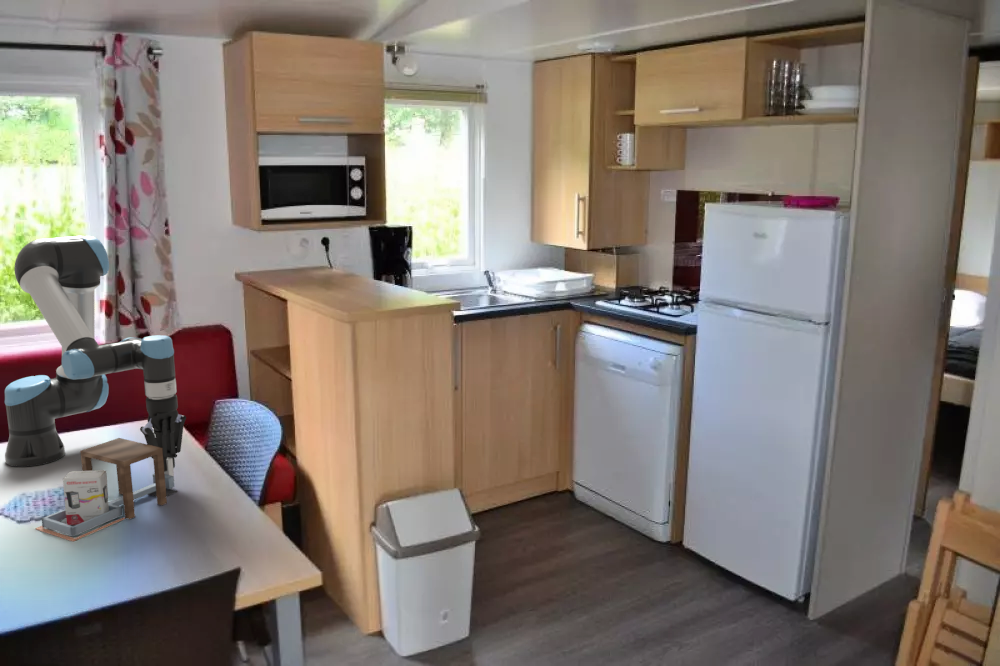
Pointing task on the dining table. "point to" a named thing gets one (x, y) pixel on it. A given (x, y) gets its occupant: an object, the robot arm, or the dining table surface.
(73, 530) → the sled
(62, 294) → the robot arm
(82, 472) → the ink box
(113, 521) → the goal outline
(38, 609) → the dining table surface
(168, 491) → the pad
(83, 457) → the tunnel frame
